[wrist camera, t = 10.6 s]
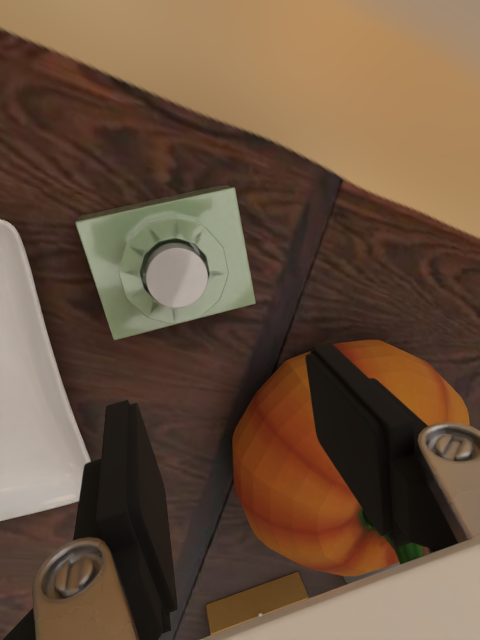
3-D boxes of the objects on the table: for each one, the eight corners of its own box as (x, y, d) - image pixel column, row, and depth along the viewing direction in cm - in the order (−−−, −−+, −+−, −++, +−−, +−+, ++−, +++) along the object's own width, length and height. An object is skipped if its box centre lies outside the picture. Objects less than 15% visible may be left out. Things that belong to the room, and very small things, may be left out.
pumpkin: (457, 383, 42) (615, 494, 28) (336, 529, 45) (426, 693, 31) (310, 279, 35) (428, 360, 21) (177, 462, 38) (205, 638, 24)
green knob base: (115, 324, 32) (112, 352, 28) (80, 215, 29) (70, 226, 24) (245, 290, 34) (263, 312, 29) (225, 184, 31) (241, 189, 26)
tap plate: (222, 655, 48) (228, 687, 45) (204, 601, 44) (209, 632, 41) (307, 622, 49) (319, 652, 46) (297, 567, 46) (308, 595, 43)
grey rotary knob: (153, 305, 28) (155, 314, 26) (138, 250, 26) (138, 256, 25) (208, 291, 28) (213, 299, 27) (196, 236, 27) (200, 241, 25)
